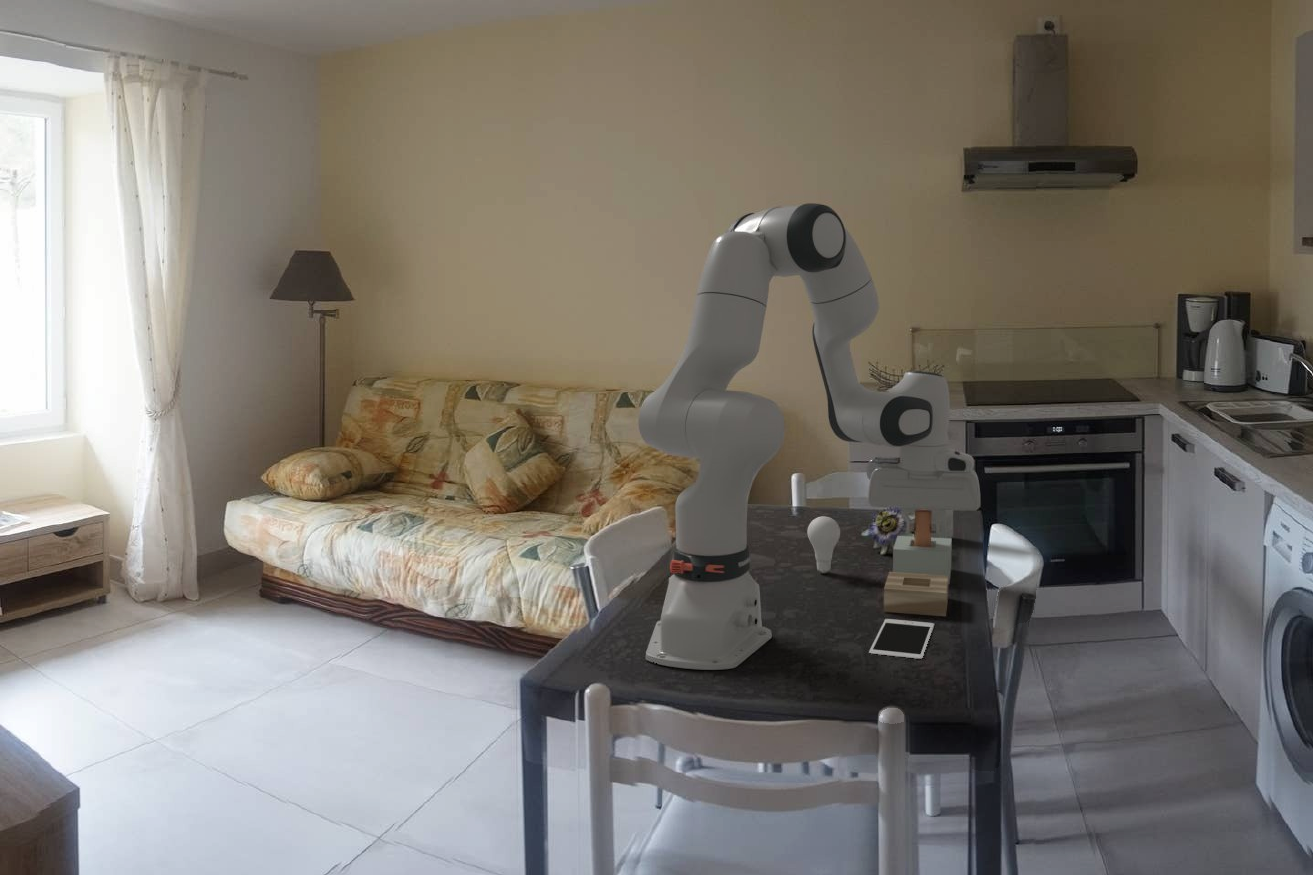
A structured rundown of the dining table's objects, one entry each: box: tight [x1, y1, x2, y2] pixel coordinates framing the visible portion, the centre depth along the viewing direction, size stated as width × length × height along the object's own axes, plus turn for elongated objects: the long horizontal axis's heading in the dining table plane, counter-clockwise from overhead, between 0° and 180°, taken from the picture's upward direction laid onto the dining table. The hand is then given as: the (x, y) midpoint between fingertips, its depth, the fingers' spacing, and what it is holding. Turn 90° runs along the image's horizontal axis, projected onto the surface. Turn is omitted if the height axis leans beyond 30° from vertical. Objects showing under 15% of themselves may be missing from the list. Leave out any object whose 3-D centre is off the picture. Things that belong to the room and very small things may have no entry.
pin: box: [914, 509, 932, 547], centre depth 185 cm, size 3×3×10 cm
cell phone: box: [868, 618, 935, 660], centre depth 153 cm, size 8×16×1 cm, turn 158°
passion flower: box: [860, 507, 915, 556], centre depth 202 cm, size 11×11×12 cm
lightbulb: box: [806, 515, 841, 574], centre depth 188 cm, size 6×6×11 cm
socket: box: [892, 536, 952, 585], centre depth 185 cm, size 10×10×6 cm
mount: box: [883, 571, 949, 617], centre depth 168 cm, size 10×10×4 cm
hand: (922, 531), depth 184 cm, fingers closed on pin, 3 cm apart
